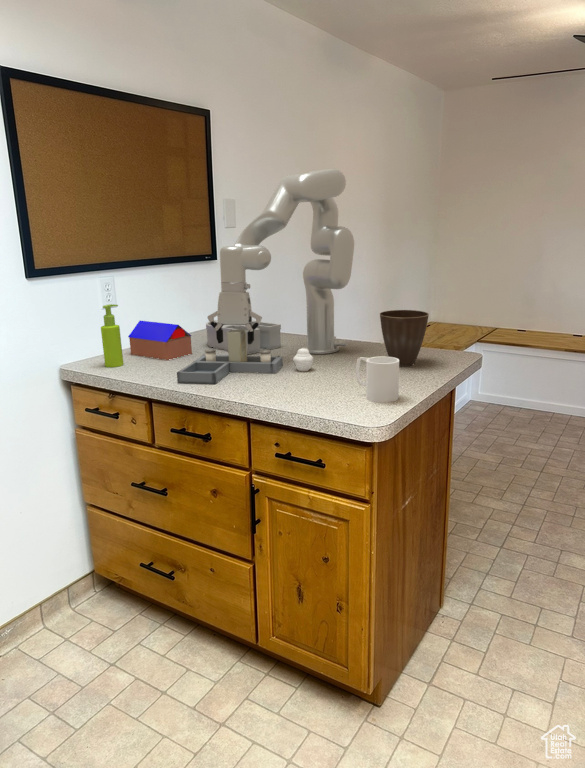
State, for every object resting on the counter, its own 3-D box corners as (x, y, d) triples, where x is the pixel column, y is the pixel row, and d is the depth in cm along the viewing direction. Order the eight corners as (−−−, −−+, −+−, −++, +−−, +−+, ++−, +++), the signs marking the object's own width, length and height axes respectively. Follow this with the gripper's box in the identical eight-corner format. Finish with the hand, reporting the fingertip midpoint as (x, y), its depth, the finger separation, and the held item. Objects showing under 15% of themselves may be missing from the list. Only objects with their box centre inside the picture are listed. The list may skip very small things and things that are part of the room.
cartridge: (272, 367, 186) (271, 349, 184) (269, 370, 183) (269, 351, 181) (262, 367, 187) (261, 349, 185) (259, 370, 183) (258, 351, 182)
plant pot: (435, 362, 187) (437, 312, 183) (411, 371, 176) (412, 318, 172) (395, 356, 197) (396, 308, 192) (369, 364, 186) (370, 314, 182)
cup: (363, 389, 160) (363, 353, 157) (404, 396, 153) (404, 358, 150) (347, 397, 153) (347, 359, 151) (389, 404, 146) (389, 365, 144)
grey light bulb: (218, 366, 190) (217, 348, 188) (214, 369, 186) (213, 350, 185) (208, 366, 190) (206, 348, 189) (204, 369, 187) (203, 350, 185)
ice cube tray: (249, 356, 205) (247, 331, 202) (198, 346, 223) (196, 323, 221) (282, 347, 216) (281, 324, 214) (231, 339, 235) (230, 317, 233)
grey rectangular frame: (282, 365, 189) (282, 356, 188) (275, 373, 179) (275, 363, 178) (204, 363, 194) (203, 354, 193) (193, 371, 184) (192, 362, 184)
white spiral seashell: (309, 373, 178) (309, 350, 177) (290, 371, 180) (290, 349, 179) (316, 368, 184) (315, 346, 182) (297, 367, 186) (297, 345, 184)
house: (155, 348, 221) (152, 318, 218) (193, 354, 209) (190, 322, 206) (129, 355, 211) (126, 323, 208) (168, 361, 200) (165, 327, 197)
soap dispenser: (129, 363, 198) (123, 303, 193) (115, 367, 192) (108, 306, 187) (115, 361, 200) (109, 303, 195) (101, 366, 194) (94, 306, 189)
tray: (229, 372, 182) (229, 362, 181) (215, 384, 169) (214, 373, 168) (194, 371, 184) (193, 361, 183) (177, 383, 171) (176, 372, 170)
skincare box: (242, 371, 183) (240, 332, 180) (228, 370, 184) (226, 332, 181) (247, 366, 189) (246, 328, 186) (234, 366, 190) (232, 328, 187)
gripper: (264, 287, 181) (265, 341, 186) (210, 286, 185) (213, 340, 189) (257, 289, 174) (259, 346, 179) (202, 288, 178) (205, 344, 182)
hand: (235, 343), depth 184 cm, fingers open, 9 cm apart
